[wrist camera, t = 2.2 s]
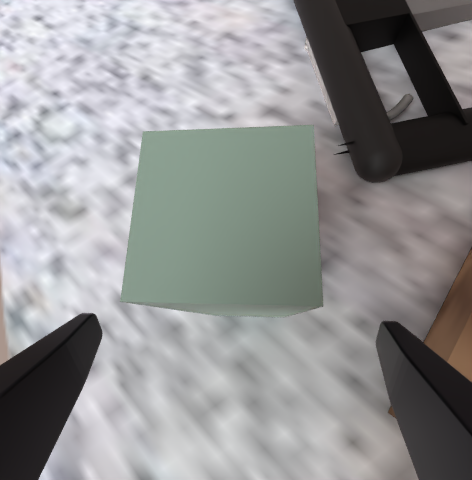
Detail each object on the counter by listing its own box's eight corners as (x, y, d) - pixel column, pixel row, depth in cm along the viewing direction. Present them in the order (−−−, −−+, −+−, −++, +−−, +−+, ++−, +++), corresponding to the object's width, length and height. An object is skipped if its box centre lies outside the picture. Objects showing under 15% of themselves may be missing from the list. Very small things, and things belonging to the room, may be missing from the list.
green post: (284, 317, 19) (322, 306, 6) (215, 315, 19) (119, 301, 7) (283, 249, 20) (313, 125, 7) (218, 249, 20) (143, 131, 8)
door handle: (469, -78, 24) (276, -43, 23) (607, 124, 18) (355, 175, 18) (442, -30, 27) (272, 2, 26) (553, 155, 21) (338, 198, 21)
